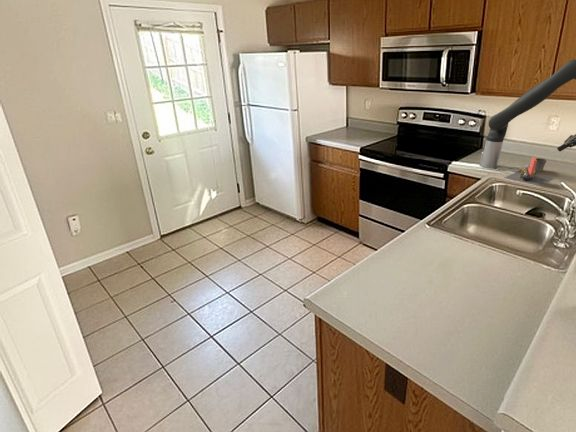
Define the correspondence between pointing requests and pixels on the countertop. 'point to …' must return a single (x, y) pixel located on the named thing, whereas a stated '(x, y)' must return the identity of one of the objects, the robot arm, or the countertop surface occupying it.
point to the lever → (531, 166)
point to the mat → (536, 180)
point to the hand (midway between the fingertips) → (558, 149)
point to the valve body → (526, 175)
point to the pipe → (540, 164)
